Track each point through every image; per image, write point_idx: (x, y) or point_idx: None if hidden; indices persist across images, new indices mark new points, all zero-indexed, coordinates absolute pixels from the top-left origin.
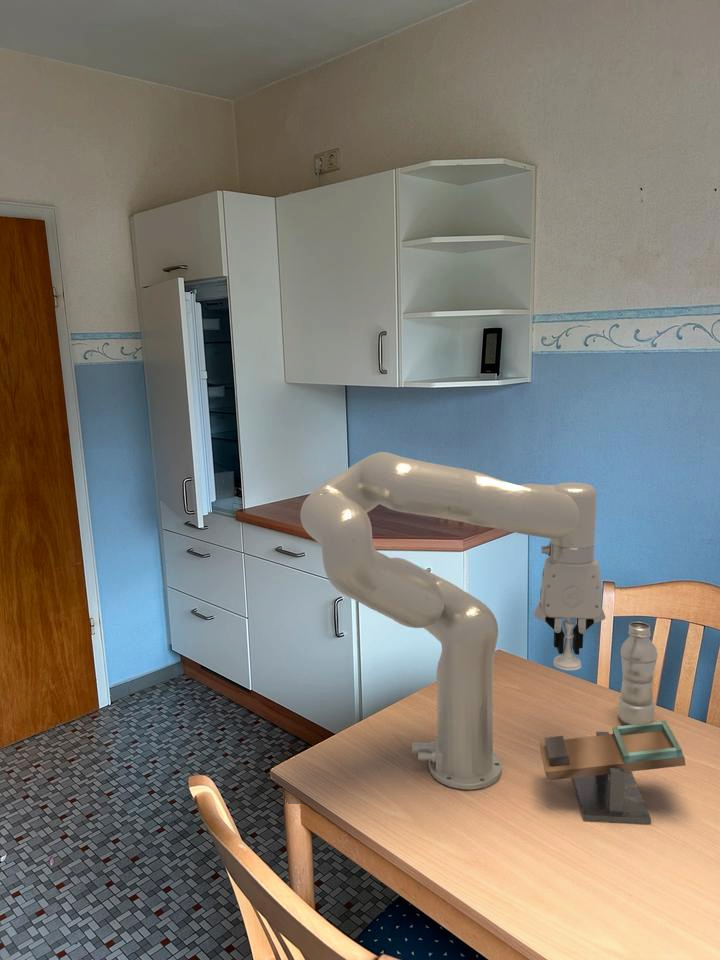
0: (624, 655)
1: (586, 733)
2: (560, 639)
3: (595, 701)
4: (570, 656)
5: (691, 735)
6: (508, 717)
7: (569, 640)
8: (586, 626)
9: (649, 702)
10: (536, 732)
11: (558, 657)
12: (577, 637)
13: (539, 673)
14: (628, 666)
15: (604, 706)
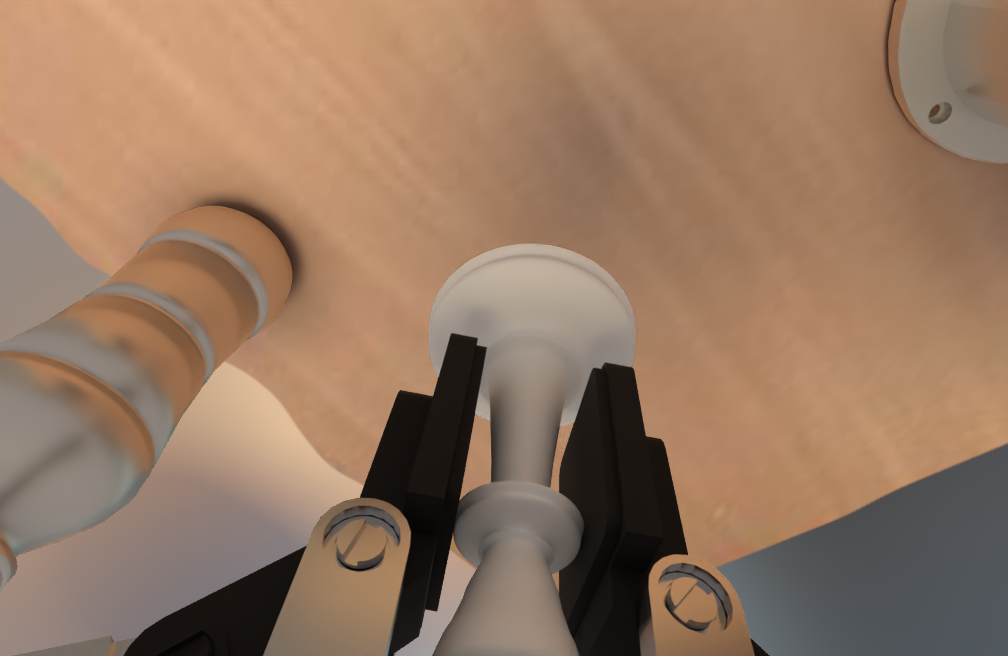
0: (125, 428)
1: (437, 206)
2: (644, 473)
3: (349, 386)
4: (516, 354)
5: (50, 144)
6: (679, 338)
7: (516, 473)
8: (279, 594)
9: (140, 251)
10: (620, 235)
11: None
12: (445, 461)
13: None
14: (137, 372)
15: (327, 356)
